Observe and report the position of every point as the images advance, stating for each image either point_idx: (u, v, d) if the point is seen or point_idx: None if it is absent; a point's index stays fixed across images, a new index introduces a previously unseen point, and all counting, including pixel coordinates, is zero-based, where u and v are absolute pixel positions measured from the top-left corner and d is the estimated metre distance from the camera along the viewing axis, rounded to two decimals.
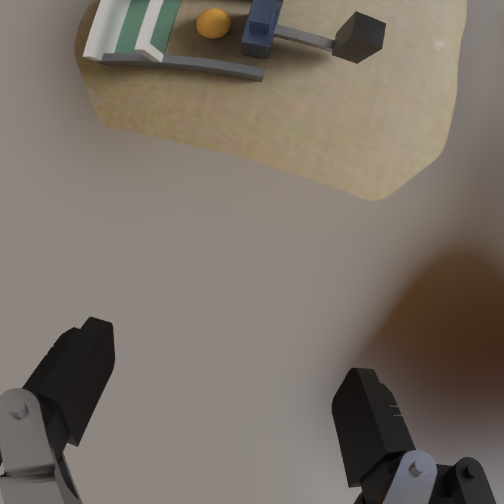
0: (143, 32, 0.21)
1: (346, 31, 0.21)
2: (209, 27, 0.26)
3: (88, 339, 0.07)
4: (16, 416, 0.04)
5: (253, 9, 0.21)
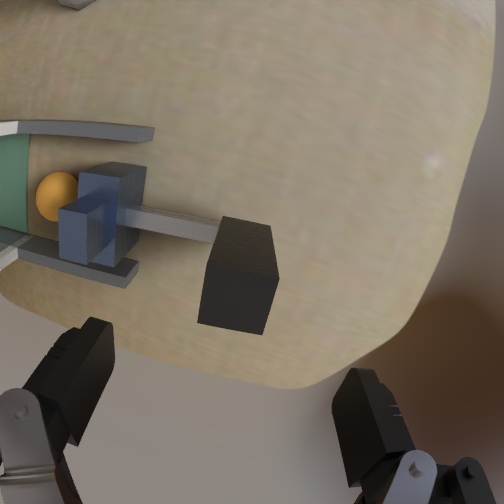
0: None
1: None
2: (47, 216, 0.19)
3: (88, 339, 0.07)
4: (16, 416, 0.04)
5: (60, 235, 0.14)
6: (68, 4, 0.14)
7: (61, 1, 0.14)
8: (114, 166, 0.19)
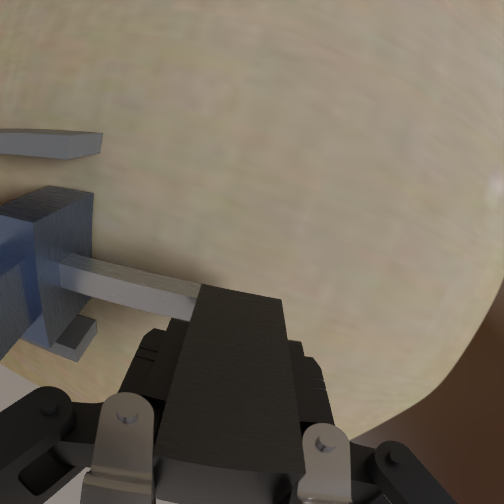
0: None
1: None
2: None
3: (178, 338, 0.08)
4: (130, 421, 0.05)
5: None
6: None
7: None
8: (45, 195, 0.12)
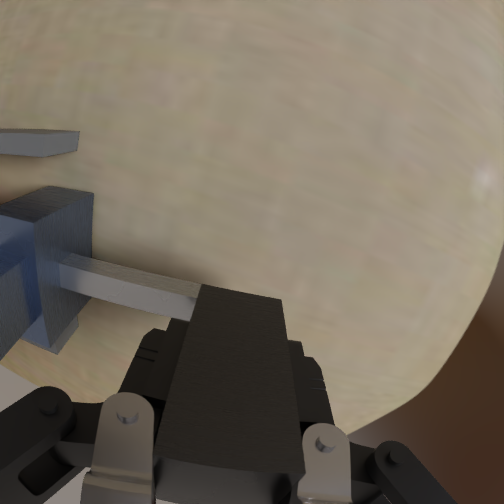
0: None
1: None
2: None
3: (178, 339, 0.08)
4: (130, 422, 0.05)
5: None
6: None
7: None
8: (45, 195, 0.12)
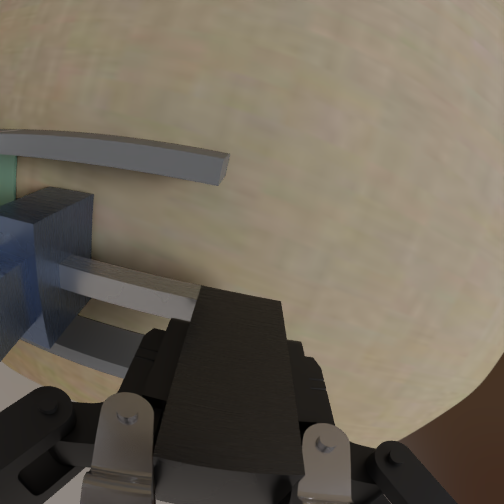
0: None
1: None
2: None
3: (178, 338, 0.08)
4: (130, 421, 0.05)
5: None
6: None
7: None
8: (45, 196, 0.12)
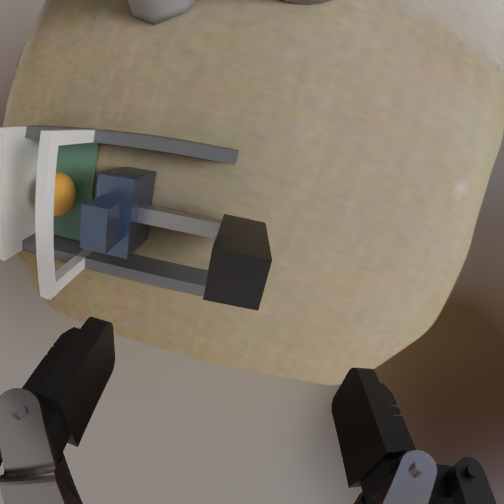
0: (42, 276, 0.18)
1: None
2: None
3: (88, 339, 0.07)
4: (16, 416, 0.04)
5: (82, 228, 0.17)
6: (143, 16, 0.18)
7: (135, 12, 0.18)
8: (127, 170, 0.22)
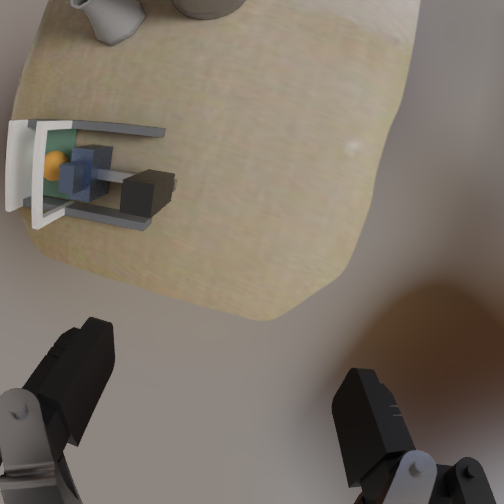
0: (34, 213, 0.27)
1: None
2: None
3: (88, 339, 0.07)
4: (16, 416, 0.04)
5: (59, 179, 0.26)
6: (104, 41, 0.27)
7: (98, 38, 0.26)
8: (93, 146, 0.31)
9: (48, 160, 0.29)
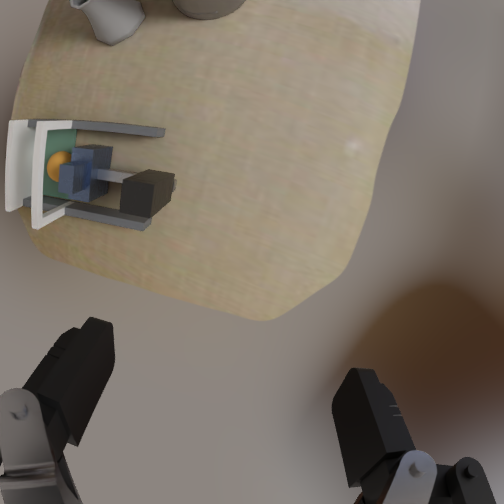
0: (34, 213, 0.27)
1: None
2: None
3: (88, 339, 0.07)
4: (16, 416, 0.04)
5: (59, 179, 0.26)
6: (104, 41, 0.27)
7: (98, 38, 0.26)
8: (93, 146, 0.31)
9: (62, 161, 0.30)
